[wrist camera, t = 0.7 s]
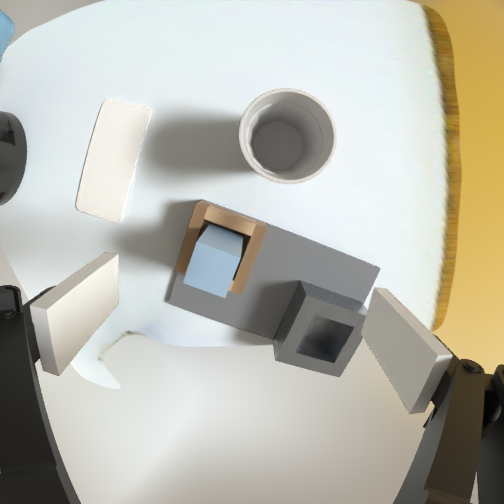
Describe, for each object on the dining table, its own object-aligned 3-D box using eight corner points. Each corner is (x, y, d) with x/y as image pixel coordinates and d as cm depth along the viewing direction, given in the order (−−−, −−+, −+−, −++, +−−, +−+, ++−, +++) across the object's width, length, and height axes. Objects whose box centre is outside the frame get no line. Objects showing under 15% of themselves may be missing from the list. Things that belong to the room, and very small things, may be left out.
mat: (169, 300, 40) (168, 303, 39) (202, 199, 37) (201, 200, 36) (333, 354, 42) (334, 357, 41) (378, 267, 39) (380, 268, 38)
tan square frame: (180, 261, 38) (174, 270, 35) (201, 200, 36) (196, 203, 33) (242, 284, 39) (241, 294, 35) (265, 223, 37) (267, 229, 33)
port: (272, 339, 41) (275, 360, 36) (300, 280, 38) (306, 295, 34) (331, 356, 41) (339, 377, 37) (361, 301, 39) (373, 318, 34)
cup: (260, 190, 37) (264, 199, 25) (231, 130, 35) (222, 111, 23) (321, 164, 36) (352, 161, 24) (293, 104, 34) (311, 75, 22)
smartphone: (152, 108, 34) (120, 224, 37) (154, 109, 34) (122, 223, 38) (103, 99, 33) (74, 209, 37) (106, 100, 34) (77, 208, 37)
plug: (200, 253, 37) (183, 282, 27) (211, 222, 36) (196, 241, 26) (231, 265, 37) (225, 298, 28) (243, 234, 37) (240, 257, 27)
